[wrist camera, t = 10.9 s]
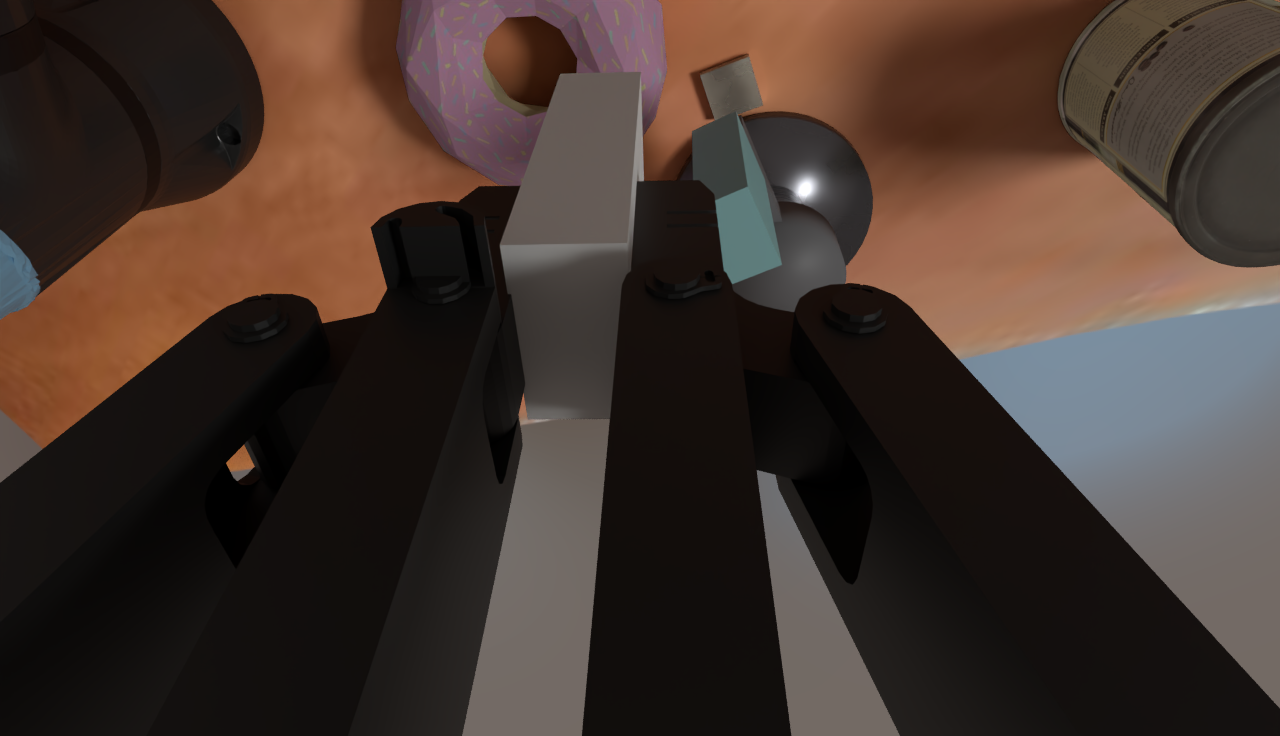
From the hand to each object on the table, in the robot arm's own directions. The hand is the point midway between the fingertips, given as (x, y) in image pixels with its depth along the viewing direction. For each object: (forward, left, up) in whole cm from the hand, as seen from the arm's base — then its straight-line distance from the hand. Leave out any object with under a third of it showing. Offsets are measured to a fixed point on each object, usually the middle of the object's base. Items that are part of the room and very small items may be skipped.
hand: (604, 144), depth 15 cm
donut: (-9, -4, -33) cm, 34 cm away
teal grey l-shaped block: (+1, -15, -26) cm, 30 cm away
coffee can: (+24, -17, -33) cm, 44 cm away
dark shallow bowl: (+1, -17, -32) cm, 37 cm away
